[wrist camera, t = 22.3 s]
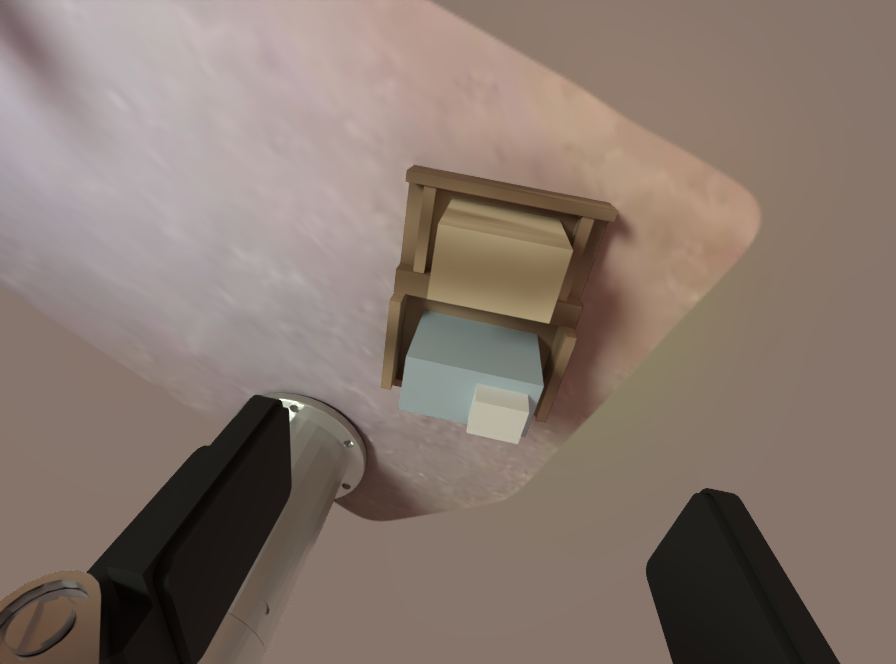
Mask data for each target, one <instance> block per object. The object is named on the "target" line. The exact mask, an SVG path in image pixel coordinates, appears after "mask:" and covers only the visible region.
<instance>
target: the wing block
mask: <svg viewBox="0 0 896 664" xmlns="http://www.w3.org/2000/svg"><path fill="white" fill-rule="evenodd" d="M572 253H573V249H572V247H571V244H570V242H569V240H568V238H567V235H566V233H565V231H564V229H563V226H562V224H561V222H560V219H557V218H552V217H547V216H542V215H537V214H532V213H526V212H521V211H516V210H511V209H506V208H501V207H496V206H491V205H485V204H480V203H475V202H470V201H465V200H460V199H455V198H452V200H451V202H450V204H449V205H448V207H447V209H446V211H445V212H444V214H443V216H442V218H441V220H440V221H439V223H438V228H437V235H436V241H435V248H434V255H433V261H432V268H431V275H430V281H429V288H428V294H427V299H430V300H435V301H440V302H445V303H449V304H454V305H459V306H464V307H469V308H474V309H479V310H484V311H489V312H494V313H499V314H504V315H509V316H514V317H519V318H524V319H529V320H533V321H538V322H543V323H548V324H549V323H550V320H551V317H552V314H553V311H554V308H555V305H556V302H557V298H558V295H559V292H560V289H561V286H562V283H563V280H564V277H565V274H566V271H567V268H568V265H569V262H570V259H571V256H572Z"/></svg>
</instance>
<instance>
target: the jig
mask: <svg viewBox="0 0 896 664" xmlns="http://www.w3.org/2000/svg"><path fill="white" fill-rule="evenodd" d="M406 181H407V182H409V191H408V200H407V209H406V218H405V227H404V236H403V245H402V254H401V263H400V264H399V266H398V267H397V269H396V277H395V286H394V294H393V296H392V297H391V299H390V303H389V313H388V323H387V332H386V342H385V352H384V362H383V372H382V382H381V388H384V389H389V390H391V387H392V385H394V386H399V387H402V381H403V374H404V367H405V360H406V355H407V353H408V350H409V348H410V345H411V343H412V340H413V338H414V335H415V332H416V330H417V327H418V325H419V322H420V320H421V317H422V315H423V312H424V310H426V311H431V312H436V313H440V314H445V315H450V316H454V317H459V318H463V319H468V320H473V321H477V322H482V323H487V324H491V325H496V326H501V327H505V328H510V329H514V330H519V331H524V332H528V333H533V334H537V337H538V345H539V353H540V361H541V368H542V376H543V384H544V387H543V390H542V393H541V395H540V398H539V401H538V403H537V406H536V409H535V412H534V414H533V415H535V417H536V421H541V422H546V420H547V417H548V415H549V412H550V409H551V407H552V404H553V402H554V399H555V396H556V394H557V391H558V388H559V386H560V383H561V380H562V378H563V375H564V372H565V370H566V367H567V364H568V362H569V359H570V356H571V354H572V351H573V348H574V346H575V343H576V340H577V336H576V333H575V327H576V325H577V322H578V319H579V317H580V314H581V311H582V308H583V305H582V303H581V300H580V298H581V295H582V292H583V290H584V287H585V284H586V281H587V278H588V276H589V273H590V270H591V267H592V265H593V262H594V259H595V256H596V253H597V251H598V248H599V245H600V242H601V240H602V237H603V234H604V231H605V229H606V226H607V223H608V221H611V222H615V219H616V216H617V213H618V211H617V210H616V209H615V208H614V207H613V206H612V205H611V204H610V203H607V202H602V201H597V200H591V199H586V198H581V197H576V196H571V195H566V194H561V193H556V192H550V191H545V190H540V189H535V188H530V187H525V186H520V185H514V184H509V183H504V182H499V181H494V180H489V179H484V178H479V177H473V176H468V175H463V174H458V173H453V172H448V171H443V170H437V169H432V168H427V167H422V166H417V165H414V166H412V167H411V168H409V169H408V170H407V173H406ZM452 198H455V199H460V200H465V201H470V202H475V203H480V204H485V205H491V206H496V207H501V208H506V209H511V210H516V211H521V212H526V213H532V214H537V215H542V216H547V217H552V218H557V219H560V222H561V224H562V226H563V229H564V231H565V233H566V235H567V238H568V240H569V242H570V244H571V247H572V249H573V253H572V256H571V259H570V262H569V265H568V268H567V271H566V274H565V277H564V280H563V283H562V286H561V289H560V292H559V295H558V298H557V302H556V305H555V308H554V311H553V314H552V317H551V320H550V323H549V324H548V323H543V322H538V321H533V320H529V319H524V318H519V317H514V316H509V315H504V314H499V313H494V312H489V311H484V310H479V309H474V308H469V307H464V306H459V305H454V304H449V303H445V302H440V301H435V300H430V299H427V294H428V288H429V281H430V275H431V268H432V261H433V255H434V248H435V241H436V235H437V228H438V223H439V221H440V220H441V218H442V216H443V214H444V212H445V211H446V209H447V207H448V205H449V204H450V202H451V200H452Z"/></svg>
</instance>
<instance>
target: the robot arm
mask: <svg viewBox="0 0 896 664" xmlns="http://www.w3.org/2000/svg"><path fill="white" fill-rule="evenodd" d="M366 462H367V455H366V449H365V446H364V443H363V441H362V439H361V437H360V435H359V434H358V432H357V431H356V429H355V428H354V427H353V426H352V425H351V424H350V422H349V421H348V420H347V419H346V418H344V417H343V416H342V415H341V414H339V413H338V412H337V411H335V410H334V409H332V408H330V407H329V406H327V405H325V404H324V403H321V402H319V401H316V400H314V399H311V398H309V397H305V396H301V395H297V394H288V393H273V394H267V395H263V396H261V395H254V396H253V397H252V398H250V400H249V401H248V402H247V403H246V404H245V405H244V406H243V407H242V408H241V409H240V410H239V412H238V413H237V414H236V415H235V417H234V418H233V419H232V420H231V422H230V423H229V424H228V425H227V426H226V427H225V429H224V430H223V431H222V432H221V433H220V434H219V436H218V437H217V438H216V439H215V440H214V442H212V444H211V445H210V446H202V447H200V448H198V449H197V450H196V451H195V452H194V453H193V454H192V455H191V456H190V457H189V458H188V459H187V460H186V461H185V463H184V464H183V465H182V466H181V467H180V468H179V469H178V470H177V472H176V473H175V474H174V475H173V476H172V477H171V478H170V479H169V481H168V482H167V483H166V484H165V485H164V486H163V487H162V488H161V489H160V491H159V492H158V493H157V494H156V495H155V496H154V497H153V498H152V500H151V501H150V502H149V503H148V504H147V505H146V506H145V508H144V509H143V510H142V511H141V512H140V513H139V514H138V515H137V516H136V518H135V519H134V520H133V521H132V522H131V523H130V524H129V525H128V527H127V528H126V529H125V530H124V531H123V532H122V533H121V534H120V536H119V537H118V538H117V539H116V540H115V541H114V542H113V543H112V545H111V546H110V547H109V548H108V549H107V550H106V551H105V552H104V553H103V554H102V556H101V557H100V558H99V559H98V560H97V561H96V562H95V563H94V565H93V566H92V567H91V568H90V569H89V570H88V571H87V572H86V573H85V572H82V571H79V570H74V571H73V570H69V571H59V572H55V573H52V574H48V575H44V576H42V577H40V578H37V579H35V580H33V581H31V582H28V583H26V584H24V585H23V586H21V587H19V588H18V589H17V590H15V591H13V592H12V593H10V594H9V595H7V596H6V597H4V599H2V600H1V601H0V664H263V662H264V660H265V658H266V656H267V654H268V651H269V649H270V647H271V645H272V642H273V640H274V638H275V635H276V633H277V630H278V628H279V626H280V624H281V621H282V619H283V617H284V614H285V612H286V610H287V607H288V605H289V603H290V601H291V598H292V596H293V594H294V591H295V589H296V587H297V584H298V582H299V580H300V577H301V575H302V573H303V571H304V568H305V566H306V564H307V561H308V559H309V557H310V554H311V552H312V550H313V547H314V545H315V543H316V541H317V538H318V536H319V534H320V531H321V529H322V527H323V524H324V522H325V520H326V517H327V515H328V513H329V510H330V508H331V506H332V504H333V501H334V499H337V498H340V497H343V496H345V495H346V494H348V493H350V492H351V491H353V490H354V488H355V487H356V486H357V485H358V484H359V482H360V481H361V479H362V477H363V474H364V471H365V468H366ZM646 575H647V580H648V583H649V587H650V590H651V593H652V596H653V600H654V603H655V606H656V610H657V613H658V616H659V619H660V623H661V626H662V629H663V632H664V636H665V639H666V642H667V646H668V649H669V652H670V655H671V658H672V662H673V664H840V663H839V661H838V659H837V658H836V656H835V654H834V653H833V651H832V649H831V648H830V646H829V645H828V643H827V641H826V640H825V638H824V636H823V635H822V633H821V631H820V630H819V628H818V626H817V625H816V623H815V621H814V620H813V618H812V616H811V615H810V613H809V611H808V610H807V608H806V606H805V605H804V603H803V601H802V600H801V598H800V597H799V595H798V593H797V592H796V590H795V588H794V587H793V585H792V583H791V582H790V580H789V578H788V577H787V575H786V573H785V572H784V570H783V568H782V567H781V566H780V563H779V562H778V560H777V559H776V557H775V555H774V554H773V552H772V551H771V549H770V547H769V545H768V544H767V542H766V540H765V539H764V537H763V535H762V534H761V532H760V530H759V529H758V527H757V526H756V524H755V522H754V521H753V519H752V518H751V516H750V514H749V512H748V511H747V509H746V507H745V506H744V504H743V503H742V501H741V500H740V498H739V497H738V496H737V495H735V494H733V493H728V492H724V491H719V490H714V489H709V488H706V489H703V490H702V491H701V492H700V493H696V494H694V495H693V496H692V498H691V499H690V500H689V502H688V503H687V505H686V506H685V508H684V509H683V511H682V512H681V514H680V515H679V516H678V518H677V519H676V521H675V522H674V524H673V525H672V527H671V528H670V530H669V531H668V533H667V534H666V536H665V537H664V538H663V540H662V541H661V543H660V544H659V546H658V547H657V549H656V550H655V552H654V553H653V554H652V556H651V558H650V559H649V560H648V563H647V566H646Z"/></svg>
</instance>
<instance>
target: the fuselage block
mask: <svg viewBox="0 0 896 664" xmlns="http://www.w3.org/2000/svg"><path fill="white" fill-rule="evenodd" d="M543 387H544V384H543V376H542V368H541V361H540V353H539V345H538V337H537V334H533V333H528V332H524V331H519V330H514V329H510V328H505V327H501V326H496V325H491V324H487V323H482V322H477V321H473V320H468V319H463V318H459V317H454V316H450V315H445V314H440V313H436V312H431V311H426V310H424V312H423V315H422V317H421V320H420V322H419V325H418V327H417V330H416V332H415V335H414V338H413V340H412V343H411V345H410V348H409V350H408V353H407V355H406V360H405V367H404V374H403V381H402V387H401V394H400V401H399V407H398V409H400V410H404V411H409V412H413V413H418V414H422V415H427V416H431V417H436V418H440V419H445V420H449V421H454V422H458V423H463V424H467V433H469V434H474V435H478V436H483V437H487V438H492V439H496V440H501V441H505V442H510V443H514V444H518V442H519V440H520V437H521V436H522V437H525V436H526V433H527V431H528V428H529V425H530V422H531V420H532V417H533V414H534V412H535V409H536V406H537V403H538V401H539V398H540V395H541V393H542V390H543Z"/></svg>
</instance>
